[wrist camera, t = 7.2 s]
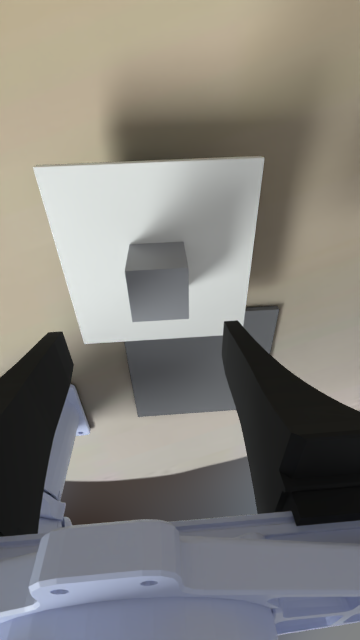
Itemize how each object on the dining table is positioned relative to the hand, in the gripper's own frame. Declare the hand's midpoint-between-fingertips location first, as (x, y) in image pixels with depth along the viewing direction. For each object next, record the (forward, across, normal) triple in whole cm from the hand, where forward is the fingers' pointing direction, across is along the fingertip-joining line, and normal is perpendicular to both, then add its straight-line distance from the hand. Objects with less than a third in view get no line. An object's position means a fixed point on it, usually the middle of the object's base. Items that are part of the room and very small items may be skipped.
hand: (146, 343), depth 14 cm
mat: (+10, -4, +12) cm, 16 cm away
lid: (+6, -1, -1) cm, 6 cm away
